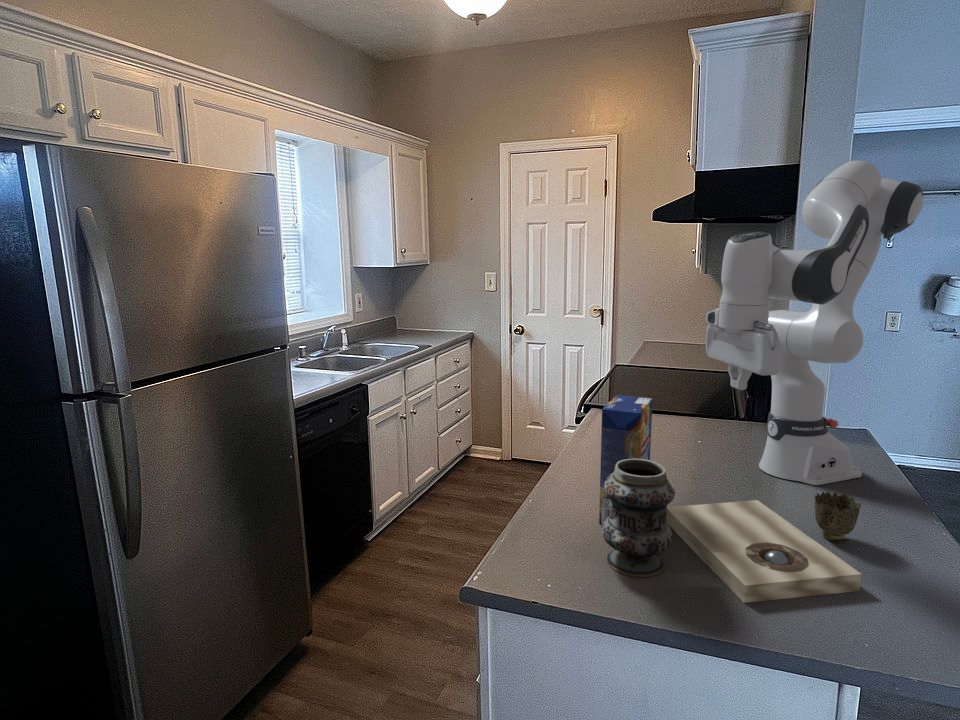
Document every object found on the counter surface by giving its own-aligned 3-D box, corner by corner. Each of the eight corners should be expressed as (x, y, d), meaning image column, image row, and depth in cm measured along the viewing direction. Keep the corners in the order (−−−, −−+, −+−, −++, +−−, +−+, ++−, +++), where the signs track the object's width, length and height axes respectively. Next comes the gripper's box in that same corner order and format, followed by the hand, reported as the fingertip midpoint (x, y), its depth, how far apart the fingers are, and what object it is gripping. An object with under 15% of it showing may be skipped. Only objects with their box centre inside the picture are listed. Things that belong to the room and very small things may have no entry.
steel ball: (775, 555, 102) (785, 544, 99) (788, 577, 99) (798, 566, 97) (754, 559, 102) (763, 548, 99) (766, 581, 99) (776, 570, 96)
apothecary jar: (685, 574, 100) (691, 475, 96) (622, 587, 96) (626, 484, 93) (646, 541, 111) (650, 451, 108) (588, 551, 108) (590, 458, 104)
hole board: (756, 513, 121) (757, 500, 121) (859, 590, 94) (861, 574, 94) (664, 521, 119) (665, 507, 118) (743, 602, 92) (745, 585, 91)
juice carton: (636, 531, 115) (641, 413, 110) (599, 523, 118) (601, 409, 114) (648, 506, 125) (652, 398, 121) (613, 500, 129) (616, 394, 124)
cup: (803, 529, 115) (806, 490, 113) (841, 529, 114) (845, 490, 113) (823, 548, 107) (828, 508, 106) (865, 548, 107) (869, 507, 106)
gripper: (793, 324, 103) (787, 400, 106) (729, 312, 123) (725, 376, 126) (760, 326, 102) (754, 402, 105) (701, 313, 122) (697, 377, 125)
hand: (738, 388), depth 115 cm, fingers closed
